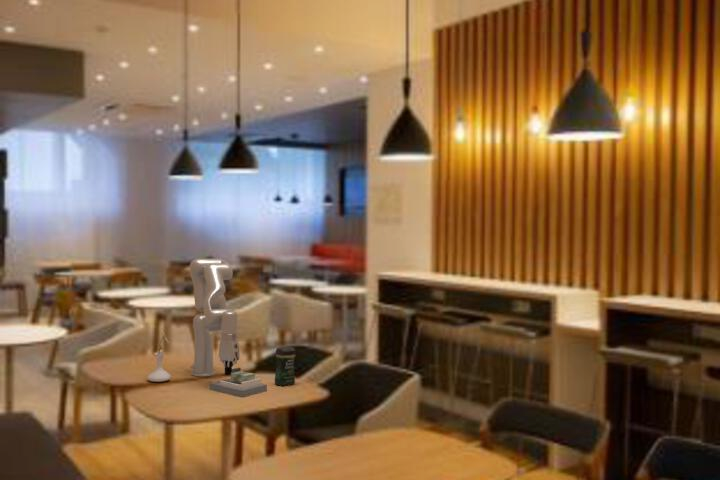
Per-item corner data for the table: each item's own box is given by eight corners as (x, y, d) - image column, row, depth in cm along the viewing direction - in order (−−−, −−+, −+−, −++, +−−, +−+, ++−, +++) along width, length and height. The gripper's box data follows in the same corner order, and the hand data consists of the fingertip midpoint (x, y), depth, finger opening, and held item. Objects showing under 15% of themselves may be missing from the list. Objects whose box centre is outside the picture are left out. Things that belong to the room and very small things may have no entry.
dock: (209, 389, 346) (209, 376, 346) (234, 383, 359) (234, 371, 359) (242, 397, 333) (242, 384, 333) (266, 390, 346) (267, 378, 346)
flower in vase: (167, 383, 355) (168, 332, 355) (144, 383, 356) (144, 332, 355) (174, 377, 368) (175, 328, 368) (152, 377, 369) (152, 328, 368)
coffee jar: (280, 387, 354) (281, 349, 354) (272, 383, 361) (273, 346, 360) (297, 384, 361) (298, 347, 360) (288, 381, 367) (289, 344, 366)
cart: (230, 384, 345) (230, 369, 345) (239, 382, 350) (240, 367, 349) (245, 387, 339) (245, 372, 339) (254, 385, 344) (255, 370, 343)
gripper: (245, 337, 348) (244, 376, 349) (223, 334, 357) (223, 371, 358) (234, 339, 342) (233, 378, 343) (212, 335, 351) (211, 373, 352)
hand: (228, 374), depth 350 cm, fingers closed
